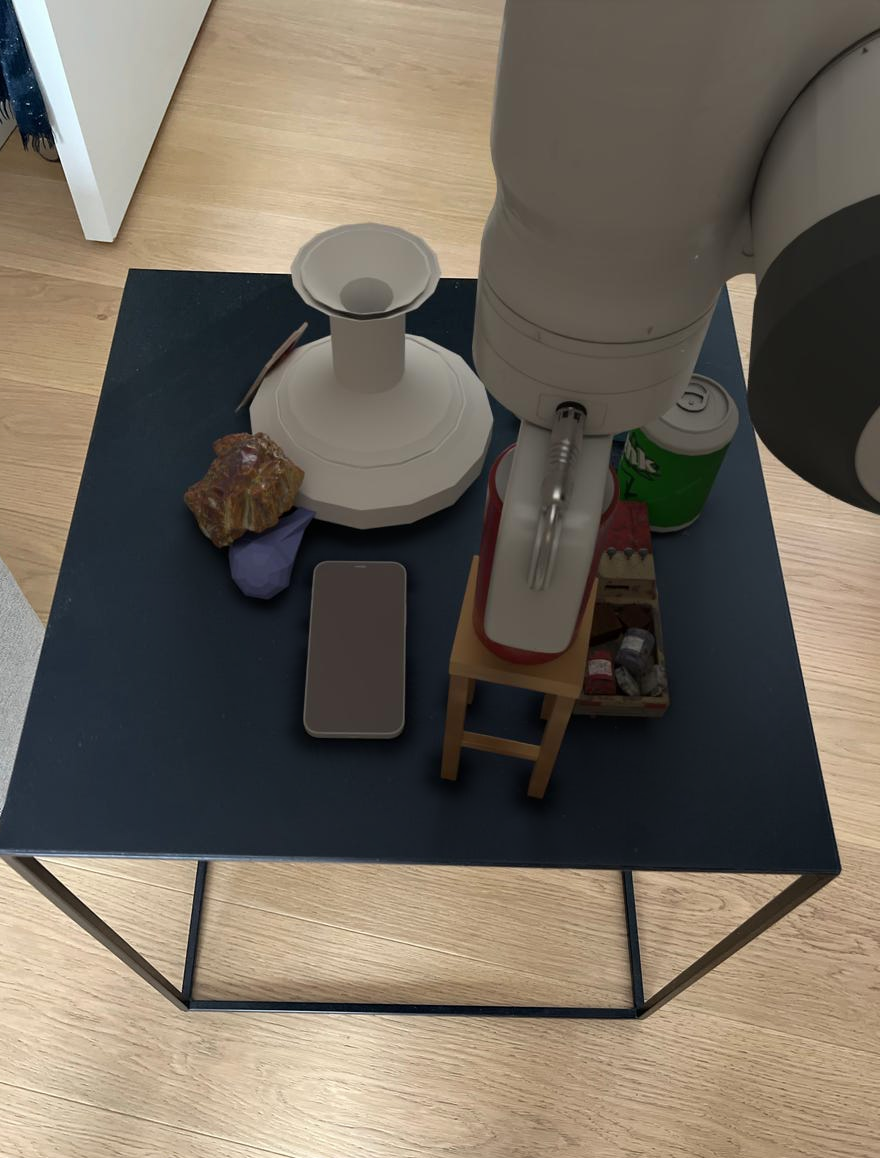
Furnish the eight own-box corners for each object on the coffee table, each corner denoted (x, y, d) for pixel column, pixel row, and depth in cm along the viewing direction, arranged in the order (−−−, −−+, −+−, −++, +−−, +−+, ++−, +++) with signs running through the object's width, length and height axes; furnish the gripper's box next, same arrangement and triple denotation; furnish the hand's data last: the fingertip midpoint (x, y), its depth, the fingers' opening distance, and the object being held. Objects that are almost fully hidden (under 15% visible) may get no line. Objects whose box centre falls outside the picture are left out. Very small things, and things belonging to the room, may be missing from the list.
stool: (558, 707, 73) (598, 577, 58) (543, 800, 69) (582, 686, 55) (458, 687, 74) (473, 554, 59) (438, 778, 70) (449, 660, 55)
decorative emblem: (314, 325, 89) (247, 410, 92) (311, 322, 89) (243, 407, 92) (302, 324, 79) (227, 420, 82) (299, 321, 79) (223, 417, 82)
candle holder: (486, 556, 80) (509, 381, 63) (240, 544, 80) (199, 366, 64) (490, 378, 90) (511, 186, 73) (272, 368, 91) (243, 175, 74)
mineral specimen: (228, 411, 81) (262, 481, 85) (149, 459, 79) (187, 529, 82) (298, 439, 72) (332, 516, 76) (211, 494, 69) (250, 570, 73)
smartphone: (301, 733, 71) (313, 560, 78) (302, 738, 72) (314, 567, 79) (404, 734, 71) (406, 561, 78) (404, 739, 72) (406, 568, 79)
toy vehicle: (637, 534, 81) (658, 472, 75) (659, 732, 72) (685, 682, 65) (553, 531, 81) (566, 470, 75) (563, 729, 72) (580, 679, 65)
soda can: (707, 482, 84) (751, 378, 74) (691, 550, 80) (734, 450, 70) (620, 460, 85) (651, 354, 75) (600, 526, 82) (630, 424, 71)
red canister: (586, 584, 58) (627, 444, 48) (572, 675, 55) (613, 545, 45) (482, 565, 59) (500, 423, 48) (463, 653, 56) (478, 521, 45)
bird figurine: (201, 578, 74) (218, 557, 80) (268, 618, 75) (280, 595, 81) (254, 489, 72) (267, 475, 78) (322, 532, 73) (331, 515, 79)
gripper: (643, 549, 33) (578, 729, 45) (689, 176, 43) (626, 404, 55) (457, 515, 33) (441, 702, 45) (545, 157, 44) (513, 386, 56)
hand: (543, 536), depth 50 cm, fingers open, 8 cm apart
